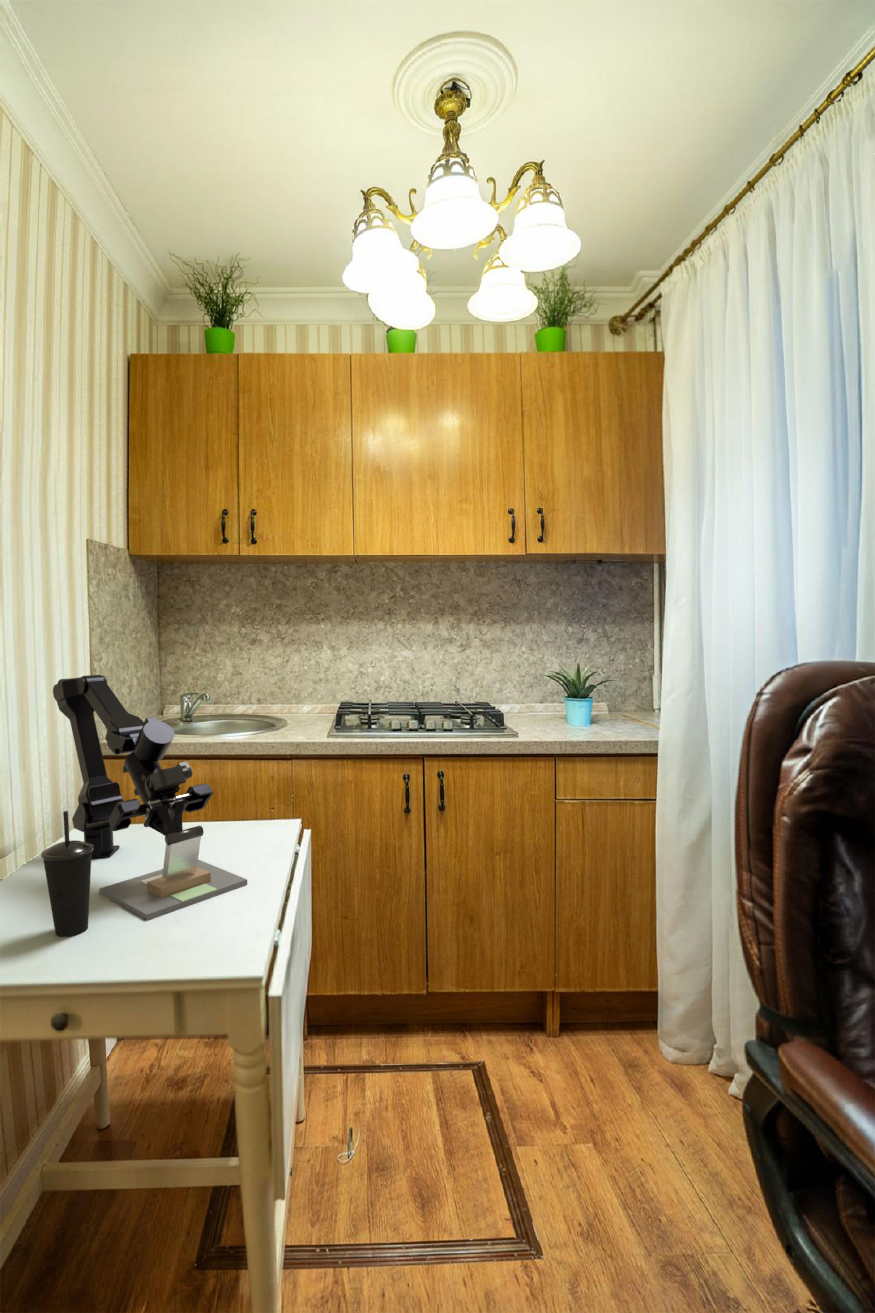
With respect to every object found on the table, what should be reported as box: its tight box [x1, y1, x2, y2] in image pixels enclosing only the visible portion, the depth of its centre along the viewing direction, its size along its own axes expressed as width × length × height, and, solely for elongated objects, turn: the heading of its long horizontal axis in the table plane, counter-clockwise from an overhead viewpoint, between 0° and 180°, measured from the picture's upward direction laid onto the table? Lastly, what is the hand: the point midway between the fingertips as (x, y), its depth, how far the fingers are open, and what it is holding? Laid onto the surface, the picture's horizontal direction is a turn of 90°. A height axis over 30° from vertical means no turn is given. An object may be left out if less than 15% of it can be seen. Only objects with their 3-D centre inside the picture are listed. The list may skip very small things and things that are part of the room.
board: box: [98, 859, 248, 921], centre depth 135 cm, size 18×20×3 cm
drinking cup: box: [40, 810, 93, 938], centre depth 117 cm, size 8×8×20 cm
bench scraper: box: [162, 825, 205, 881], centre depth 132 cm, size 2×7×9 cm, turn 140°
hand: (180, 842), depth 132 cm, fingers closed, pressing on bench scraper
